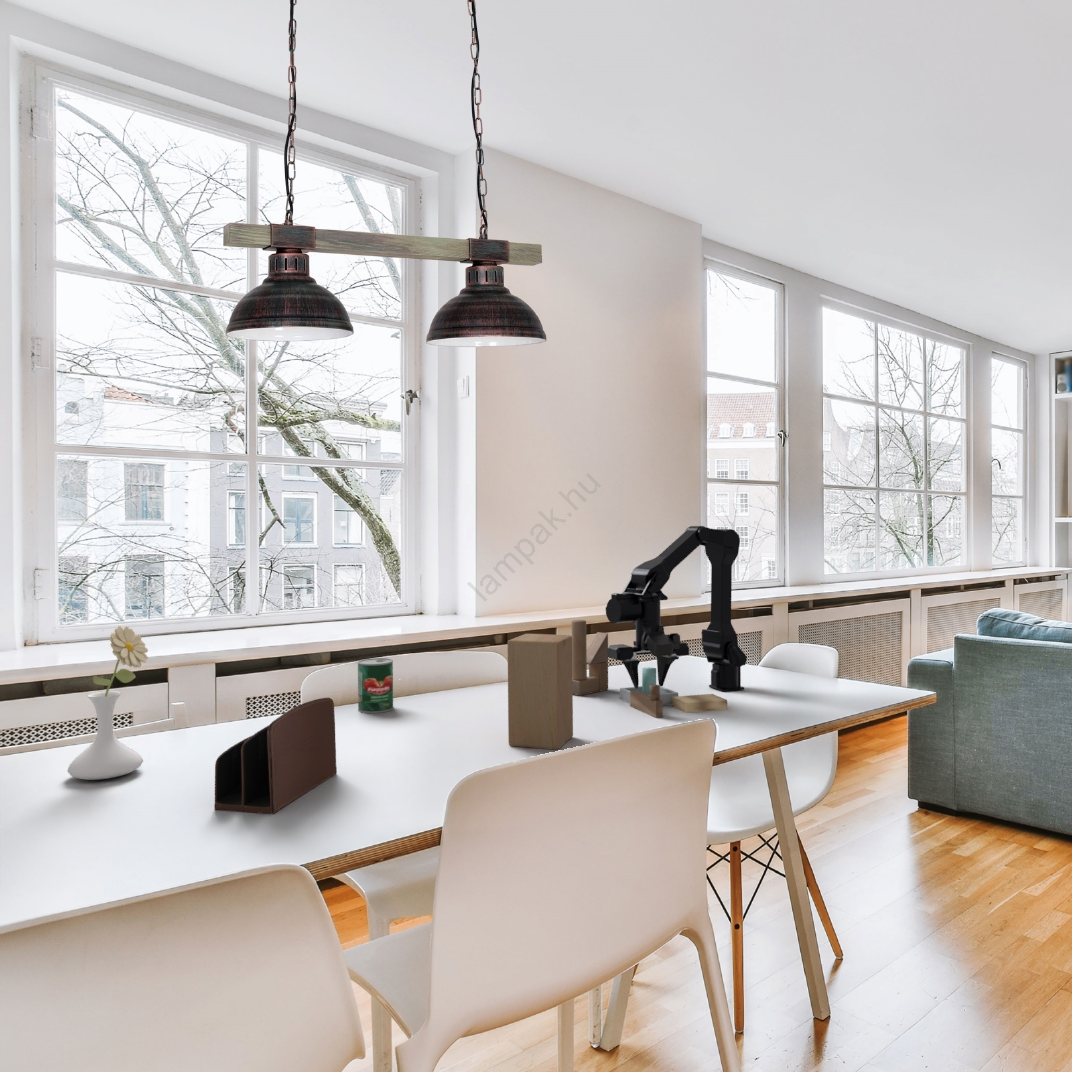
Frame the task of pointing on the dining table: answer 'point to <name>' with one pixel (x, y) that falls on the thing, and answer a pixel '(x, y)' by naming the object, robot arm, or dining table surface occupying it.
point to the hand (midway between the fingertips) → (648, 687)
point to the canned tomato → (375, 685)
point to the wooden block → (540, 691)
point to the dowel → (648, 678)
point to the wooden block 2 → (588, 660)
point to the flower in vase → (111, 717)
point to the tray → (625, 692)
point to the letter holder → (278, 761)
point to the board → (699, 703)
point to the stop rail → (648, 701)
